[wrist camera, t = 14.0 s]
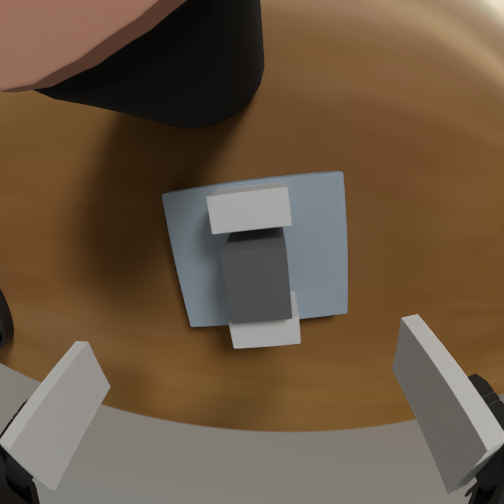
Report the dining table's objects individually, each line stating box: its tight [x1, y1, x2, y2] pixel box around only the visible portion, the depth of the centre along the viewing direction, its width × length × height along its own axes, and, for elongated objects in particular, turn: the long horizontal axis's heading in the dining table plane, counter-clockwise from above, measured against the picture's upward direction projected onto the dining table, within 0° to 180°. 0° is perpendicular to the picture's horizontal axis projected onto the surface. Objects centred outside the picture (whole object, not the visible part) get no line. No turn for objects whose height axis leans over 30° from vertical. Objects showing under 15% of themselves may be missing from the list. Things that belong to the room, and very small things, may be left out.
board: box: [162, 171, 348, 349], centre depth 22 cm, size 14×12×6 cm
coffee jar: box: [0, 0, 264, 129], centre depth 11 cm, size 11×11×18 cm
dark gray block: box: [220, 227, 292, 324], centre depth 20 cm, size 4×5×5 cm
